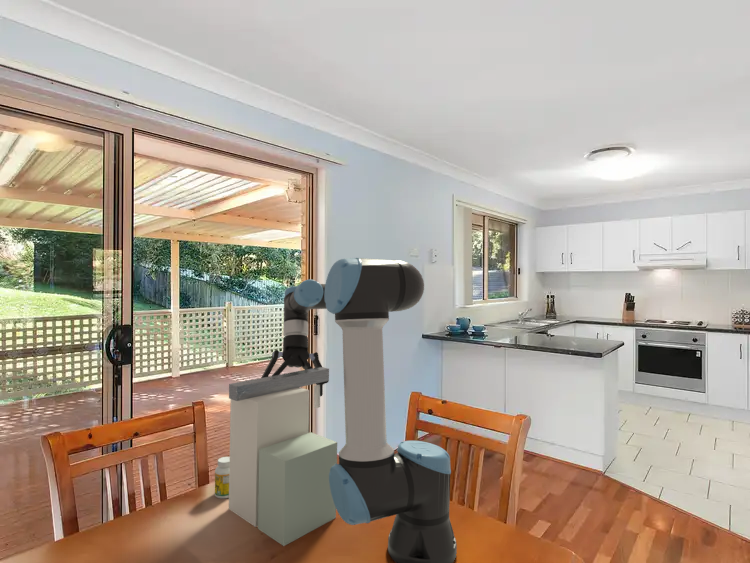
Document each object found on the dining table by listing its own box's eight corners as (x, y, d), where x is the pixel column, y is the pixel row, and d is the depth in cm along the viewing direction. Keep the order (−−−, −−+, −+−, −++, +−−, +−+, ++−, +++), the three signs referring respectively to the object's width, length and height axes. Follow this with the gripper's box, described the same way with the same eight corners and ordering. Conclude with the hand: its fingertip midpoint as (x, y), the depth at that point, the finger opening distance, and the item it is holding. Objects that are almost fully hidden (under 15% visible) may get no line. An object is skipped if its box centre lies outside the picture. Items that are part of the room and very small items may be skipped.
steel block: (320, 378, 131) (321, 366, 131) (328, 380, 129) (329, 368, 129) (228, 398, 108) (229, 384, 108) (236, 401, 106) (236, 386, 106)
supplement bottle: (237, 496, 120) (237, 461, 120) (216, 501, 118) (217, 465, 118) (232, 487, 125) (233, 454, 125) (212, 492, 122) (213, 457, 122)
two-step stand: (279, 487, 126) (281, 382, 125) (335, 517, 111) (338, 398, 110) (228, 508, 114) (230, 392, 113) (283, 546, 99) (286, 412, 98)
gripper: (328, 342, 145) (329, 408, 137) (251, 336, 133) (248, 409, 125) (338, 336, 139) (339, 406, 131) (258, 330, 127) (255, 406, 119)
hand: (295, 408), depth 128 cm, fingers open, 13 cm apart
